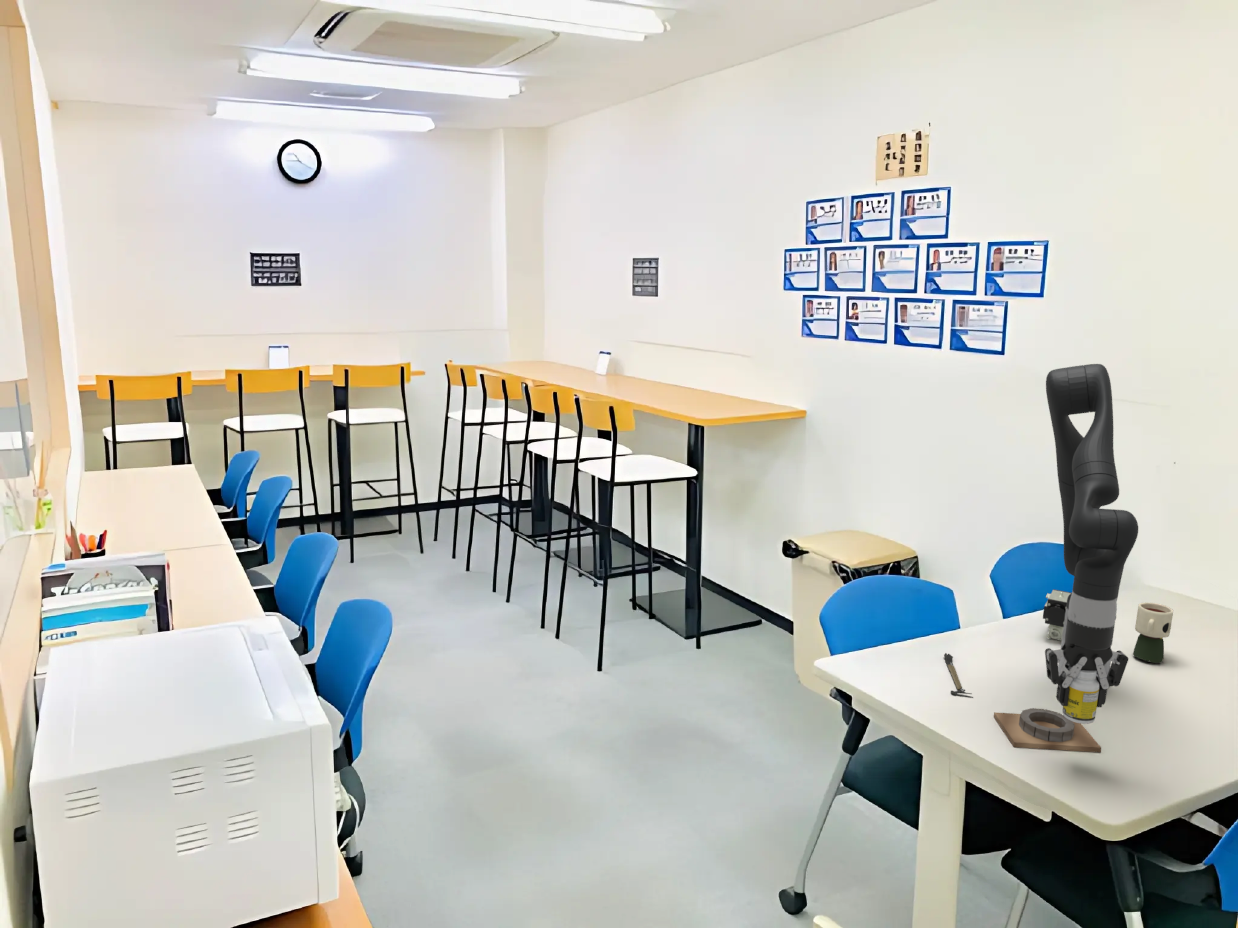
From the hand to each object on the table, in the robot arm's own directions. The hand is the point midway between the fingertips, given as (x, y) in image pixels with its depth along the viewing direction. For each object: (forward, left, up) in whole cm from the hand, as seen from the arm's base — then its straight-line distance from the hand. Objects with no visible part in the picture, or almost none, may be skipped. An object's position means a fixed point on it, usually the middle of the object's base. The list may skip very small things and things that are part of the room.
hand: (1079, 704), depth 167 cm
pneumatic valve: (-20, -62, -12) cm, 66 cm away
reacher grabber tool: (+10, -36, -13) cm, 39 cm away
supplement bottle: (0, 0, -3) cm, 3 cm away
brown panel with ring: (+1, -11, -12) cm, 16 cm away
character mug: (-37, -51, -12) cm, 64 cm away
